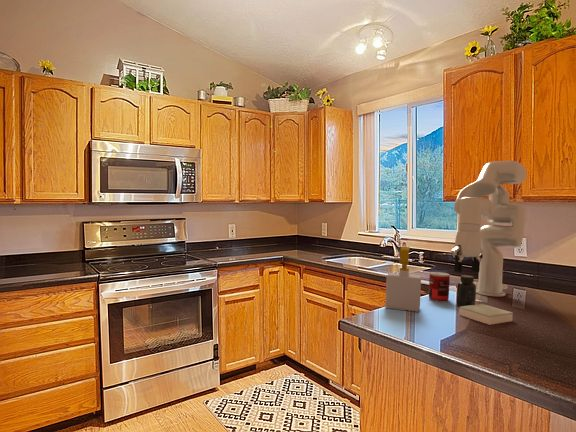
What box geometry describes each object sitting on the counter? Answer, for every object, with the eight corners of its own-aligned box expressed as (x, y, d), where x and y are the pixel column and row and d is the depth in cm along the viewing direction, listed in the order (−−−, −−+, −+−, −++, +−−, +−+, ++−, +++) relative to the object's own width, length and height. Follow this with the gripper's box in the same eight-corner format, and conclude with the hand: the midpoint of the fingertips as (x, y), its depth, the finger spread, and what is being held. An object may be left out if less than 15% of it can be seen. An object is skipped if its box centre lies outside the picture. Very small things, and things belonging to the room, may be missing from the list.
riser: (481, 311, 144) (482, 303, 144) (512, 321, 133) (512, 312, 133) (459, 314, 139) (459, 306, 139) (489, 324, 128) (489, 315, 128)
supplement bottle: (452, 304, 154) (453, 274, 154) (465, 303, 156) (466, 274, 156) (465, 309, 147) (467, 278, 147) (479, 307, 150) (480, 277, 150)
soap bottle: (419, 308, 147) (422, 247, 146) (418, 312, 140) (421, 249, 140) (387, 304, 151) (389, 245, 150) (385, 308, 145) (387, 246, 144)
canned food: (432, 296, 167) (433, 271, 167) (451, 299, 162) (452, 273, 162) (425, 299, 162) (426, 273, 161) (445, 302, 156) (446, 276, 156)
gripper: (476, 228, 158) (473, 269, 158) (445, 227, 150) (443, 270, 151) (492, 229, 151) (490, 272, 151) (461, 228, 144) (459, 273, 144)
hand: (466, 271), depth 151 cm, fingers open, 9 cm apart
